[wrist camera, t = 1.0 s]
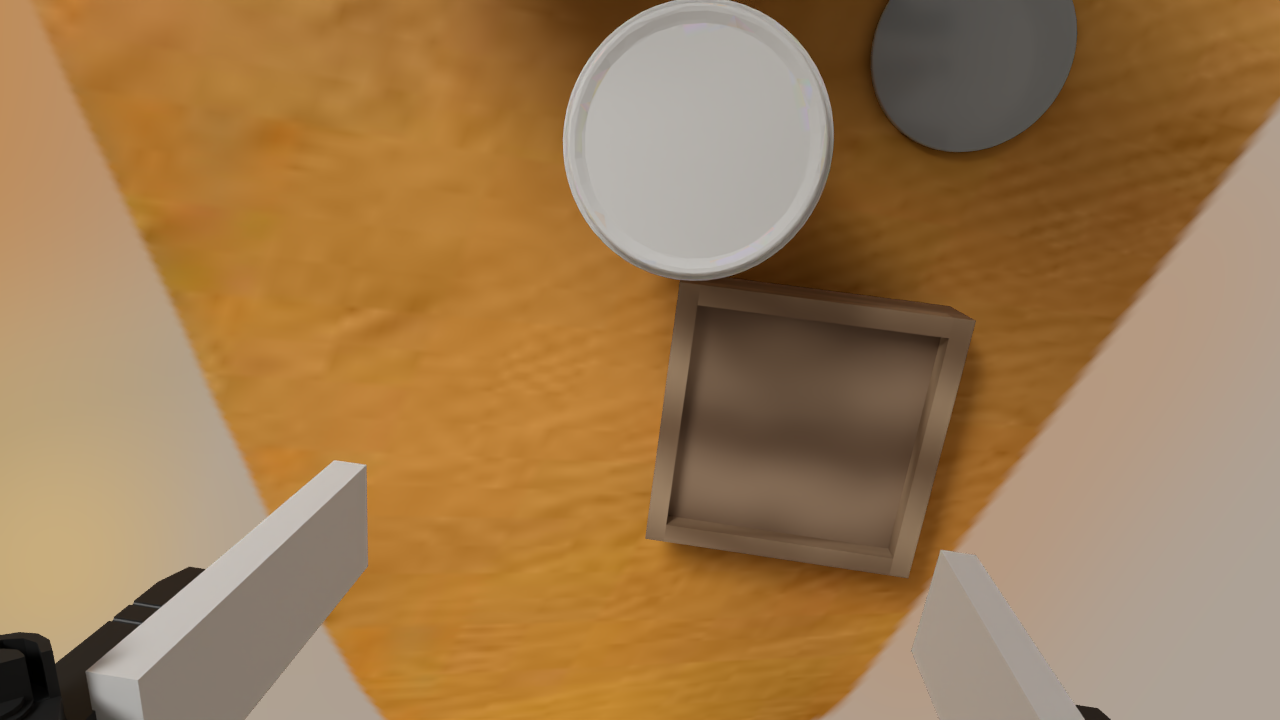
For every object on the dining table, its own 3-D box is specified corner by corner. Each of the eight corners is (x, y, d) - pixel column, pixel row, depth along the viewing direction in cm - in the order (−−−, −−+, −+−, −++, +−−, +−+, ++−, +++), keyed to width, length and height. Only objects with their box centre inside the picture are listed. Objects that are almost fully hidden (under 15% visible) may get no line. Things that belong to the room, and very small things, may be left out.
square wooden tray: (681, 271, 36) (679, 282, 32) (949, 306, 35) (975, 320, 32) (650, 507, 40) (645, 538, 36) (890, 543, 39) (908, 578, 36)
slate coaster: (893, -66, 31) (896, -70, 30) (1095, -45, 30) (1103, -50, 30) (853, 140, 33) (855, 140, 33) (1039, 162, 33) (1045, 162, 32)
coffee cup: (831, 136, 33) (899, 119, 22) (710, 283, 36) (714, 336, 24) (684, 11, 32) (674, -76, 21) (569, 170, 35) (505, 171, 23)
